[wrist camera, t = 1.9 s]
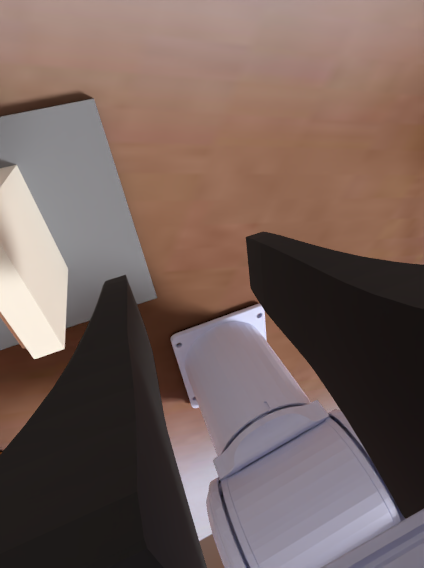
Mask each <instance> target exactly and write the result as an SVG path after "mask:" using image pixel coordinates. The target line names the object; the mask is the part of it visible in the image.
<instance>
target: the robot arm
mask: <svg viewBox="0 0 424 568" xmlns="http://www.w3.org/2000/svg"><path fill="white" fill-rule="evenodd" d="M246 243H247V254H248V265H249V276H250V286H251V289H252V291H253V293H254V294H255V296H256V298H257V299H258V301H259V302H260V304H256V305H253V306H250V307H247V308H245V309H242V310H239V311H236V312H234V313H231V314H228V315H225V316H223V317H220V318H217V319H214V320H211V321H209V322H206V323H203V324H200V325H198V326H195V327H192V328H189V329H187V330H184V331H181V332H178V333H175V334H174V335H172V336H171V338H170V339H171V343H172V346H173V350H174V353H175V356H176V359H177V362H178V365H179V368H180V372H181V375H182V378H183V381H184V384H185V387H186V390H187V393H188V397H189V400H190V403H191V406H192V408H198V407H199V408H200V410H201V413H202V416H203V418H204V421H205V424H206V426H207V429H208V432H209V434H210V437H211V440H212V442H213V445H214V448H215V450H216V453H217V456H218V457H216V458H215V459H214V460H213V462H214V465H215V468H216V471H217V473H218V476H219V477H218V478H216V479H214V480H213V481H211V482H210V485H209V492H208V496H207V501H206V504H207V512H208V517H209V522H210V526H211V530H212V533H213V536H214V539H215V543H216V546H217V548H218V552H219V554H220V557H221V560H222V562H223V565H224V567H225V568H424V265H419V264H409V263H400V262H392V261H386V260H380V259H373V258H367V257H362V256H357V255H352V254H348V253H343V252H339V251H334V250H331V249H327V248H323V247H319V246H315V245H312V244H308V243H305V242H301V241H298V240H294V239H291V238H287V237H284V236H280V235H276V234H272V233H268V232H261V233H257V234H254V235H251V236H248V237H246ZM264 310H265V311H266V313H267V314H268V315H269V316H270V318H271V319H272V320H273V321H274V322H275V324H276V325H277V326H278V327H279V328H280V330H281V331H282V332H283V333H284V334H285V335H286V337H287V338H288V339H289V340H290V341H291V342H292V344H293V345H294V346H295V347H296V348H297V349H298V351H299V352H300V353H301V354H302V355H303V356H304V358H305V359H306V360H307V362H308V363H309V364H310V365H311V367H312V368H313V369H314V371H315V372H316V374H317V375H318V377H319V378H320V380H321V381H322V382H323V384H324V385H325V387H326V388H327V390H328V391H329V393H330V394H331V396H332V397H333V399H334V400H335V402H336V403H337V405H338V407H339V408H340V410H337V409H335V410H333V411H331V412H329V413H327V412H326V410H325V409H324V408H323V406H322V405H321V404H320V402H319V401H318V400H315V401H313V402H311V401H310V400H309V398H308V397H307V396H306V394H305V393H304V392H303V390H302V389H301V387H300V386H299V385H298V383H297V382H296V381H295V379H294V378H293V377H292V375H291V374H290V372H289V371H288V370H287V368H286V367H285V366H284V364H283V363H282V362H281V360H280V359H279V357H278V356H277V355H276V353H275V352H274V351H273V349H272V348H271V347H270V345H269V344H268V342H267V341H266V326H265V311H264ZM259 313H260V314H259ZM258 314H259V315H258ZM178 343H180V344H178ZM177 344H178V345H177ZM0 568H207V567H206V563H205V560H204V557H203V554H202V550H201V546H200V543H199V540H198V536H197V533H196V529H195V526H194V522H193V519H192V515H191V512H190V509H189V505H188V502H187V498H186V495H185V491H184V488H183V484H182V481H181V477H180V474H179V470H178V467H177V463H176V460H175V456H174V453H173V449H172V445H171V442H170V438H169V435H168V431H167V427H166V422H165V418H164V413H163V407H162V401H161V396H160V390H159V384H158V379H157V373H156V368H155V362H154V357H153V351H152V348H151V345H150V341H149V338H148V335H147V332H146V328H145V325H144V322H143V320H142V317H141V314H140V312H139V309H138V306H137V304H136V301H135V298H134V295H133V293H132V290H131V287H130V285H129V282H128V279H127V277H126V275H123V276H120V277H117V278H113V279H110V280H107V281H105V282H104V284H103V286H102V290H101V293H100V296H99V299H98V302H97V304H96V307H95V310H94V312H93V314H92V317H91V319H90V321H89V324H88V326H87V328H86V331H85V333H84V335H83V337H82V339H81V341H80V343H79V345H78V347H77V349H76V351H75V352H74V354H73V356H72V358H71V360H70V361H69V363H68V365H67V367H66V368H65V370H64V372H63V373H62V375H61V376H60V378H59V379H58V381H57V383H56V384H55V386H54V387H53V389H52V390H51V391H50V393H49V394H48V395H47V397H46V398H45V399H44V401H43V402H42V403H41V405H40V406H39V407H38V409H37V410H36V411H35V413H34V414H33V415H32V417H31V418H30V419H29V421H28V422H27V423H26V424H25V426H24V427H23V428H22V429H21V431H20V432H19V433H18V434H17V435H16V437H15V438H14V439H13V440H12V441H11V443H10V444H9V445H8V446H7V447H6V448H5V450H4V451H3V452H2V453H1V454H0Z"/></svg>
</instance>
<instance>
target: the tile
mask: <svg viewBox="0 0 424 568" xmlns="http://www.w3.org/2000/svg"><path fill="white" fill-rule="evenodd" d="M67 285H68V268H67V266H66V264H65V261H64V259H63V257H62V255H61V253H60V251H59V249H58V247H57V245H56V243H55V241H54V239H53V237H52V235H51V233H50V231H49V229H48V227H47V225H46V223H45V221H44V219H43V217H42V215H41V213H40V211H39V209H38V207H37V205H36V203H35V201H34V199H33V197H32V195H31V193H30V191H29V189H28V187H27V185H26V183H25V181H24V179H23V176H22V174H21V172H20V170H19V168H18V166H17V165H13V166H9V167H4V168H0V318H1V319H2V320H3V322H4V323H5V324H6V326H7V327H8V329H9V330H10V331H11V333H12V334H13V336H14V337H15V338H16V340H17V341H18V342H19V344H20V345H21V347H22V348H23V349H24V348H26V349H27V350H28V351H29V353H30V354H31V356H32V357H33V358H34V359H37V358H40V357H43V356H46V355H49V354H52V353H55V352H57V351H60V350H63V349H65V330H66V308H67Z"/></svg>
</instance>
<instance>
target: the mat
mask: <svg viewBox="0 0 424 568" xmlns="http://www.w3.org/2000/svg"><path fill="white" fill-rule="evenodd" d="M13 165H17V166H18V168H19V170H20V172H21V174H22V176H23V179H24V181H25V183H26V185H27V187H28V189H29V191H30V193H31V195H32V197H33V199H34V201H35V203H36V205H37V207H38V209H39V211H40V213H41V215H42V217H43V219H44V221H45V223H46V225H47V227H48V229H49V231H50V233H51V235H52V237H53V239H54V241H55V243H56V245H57V247H58V249H59V251H60V253H61V255H62V257H63V259H64V261H65V264H66V266H67V268H68V285H67V308H66V328H68V327H71V326H74V325H77V324H80V323H83V322H86V321H89V320H90V319H91V317H92V314H93V312H94V310H95V307H96V304H97V302H98V299H99V296H100V293H101V290H102V286H103V284H104V282H105V281H107V280H110V279H113V278H117V277H120V276H123V275H126V277H127V279H128V282H129V285H130V287H131V290H132V293H133V295H134V298H135V301H136V304H140V303H143V302H146V301H149V300H152V299H155V298H157V296H156V292H155V289H154V286H153V283H152V280H151V277H150V274H149V270H148V267H147V264H146V261H145V258H144V255H143V252H142V248H141V245H140V242H139V239H138V236H137V233H136V230H135V226H134V223H133V220H132V217H131V214H130V211H129V208H128V204H127V201H126V198H125V195H124V192H123V189H122V186H121V182H120V179H119V176H118V173H117V170H116V167H115V164H114V160H113V157H112V154H111V151H110V148H109V145H108V141H107V138H106V135H105V132H104V129H103V126H102V123H101V119H100V116H99V113H98V110H97V107H96V104H95V101H94V98H92V99H87V100H82V101H77V102H72V103H66V104H61V105H56V106H51V107H46V108H41V109H36V110H31V111H25V112H20V113H15V114H10V115H5V116H0V168H4V167H9V166H13ZM17 344H19V342H18V341H17V340H16V338H15V337H14V336H13V334H12V333H11V331H10V330H9V329H8V327H7V326H6V324H5V323H4V322H3V320H2V319H1V318H0V350H2V349H5V348H8V347H11V346H14V345H17Z"/></svg>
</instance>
